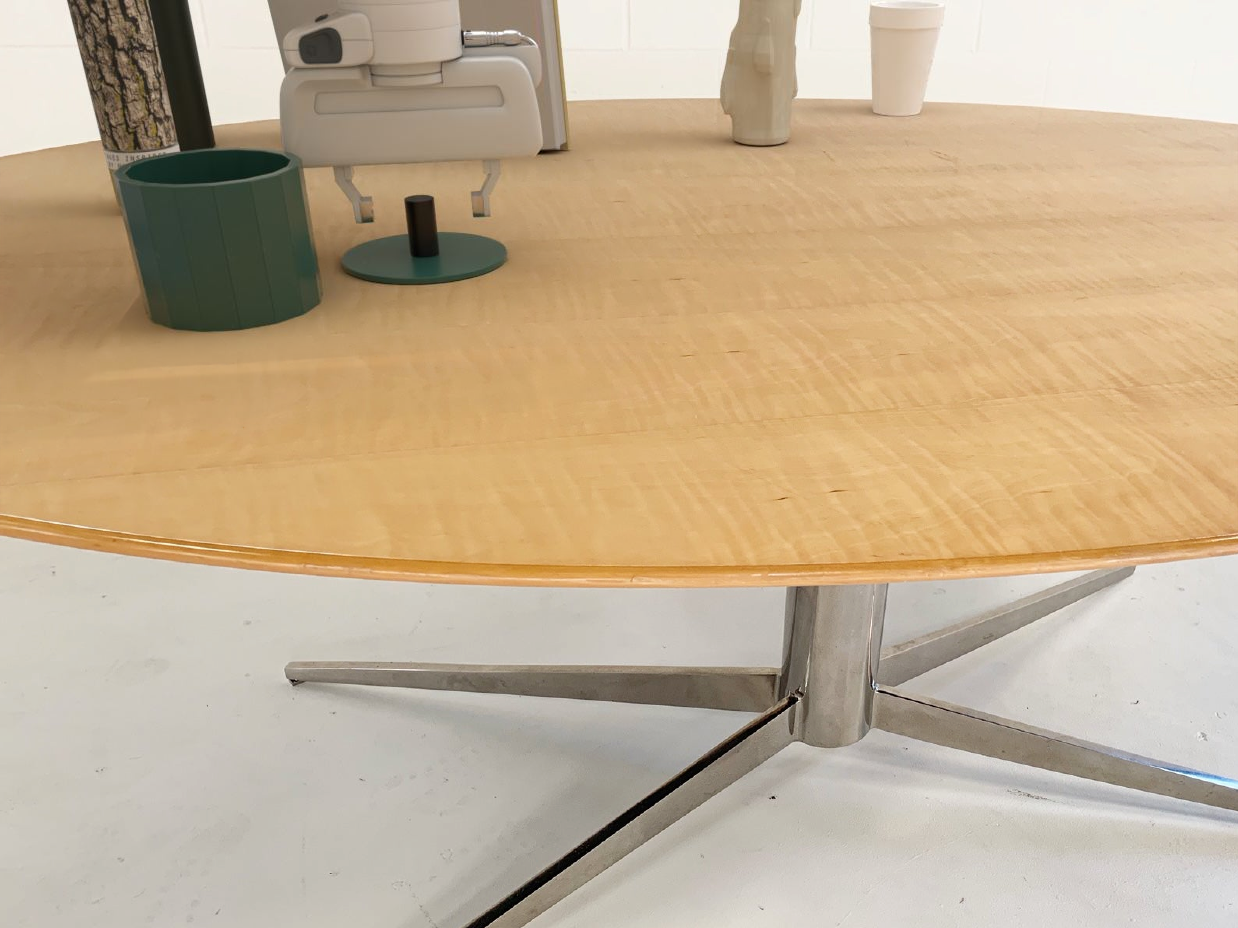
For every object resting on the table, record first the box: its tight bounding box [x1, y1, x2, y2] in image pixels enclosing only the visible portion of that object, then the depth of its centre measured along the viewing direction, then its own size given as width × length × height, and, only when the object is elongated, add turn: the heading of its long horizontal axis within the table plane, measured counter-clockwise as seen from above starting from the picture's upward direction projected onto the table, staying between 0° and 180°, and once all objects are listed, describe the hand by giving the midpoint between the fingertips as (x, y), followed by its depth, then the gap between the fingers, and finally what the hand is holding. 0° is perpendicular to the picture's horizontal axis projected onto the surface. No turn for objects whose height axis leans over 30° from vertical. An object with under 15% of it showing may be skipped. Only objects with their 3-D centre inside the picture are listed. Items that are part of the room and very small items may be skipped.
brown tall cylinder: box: [66, 0, 180, 209], centre depth 107 cm, size 7×7×25 cm
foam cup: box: [868, 0, 946, 117], centre depth 152 cm, size 10×9×13 cm
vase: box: [719, 0, 803, 147], centre depth 132 cm, size 9×8×30 cm
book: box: [267, 0, 572, 151], centre depth 132 cm, size 36×8×24 cm, turn 71°
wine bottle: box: [148, 0, 217, 151], centre depth 131 cm, size 6×6×30 cm
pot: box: [113, 146, 324, 333], centre depth 84 cm, size 13×13×10 cm
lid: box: [341, 194, 508, 285], centre depth 95 cm, size 14×14×6 cm
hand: (424, 218), depth 94 cm, fingers open, 8 cm apart
